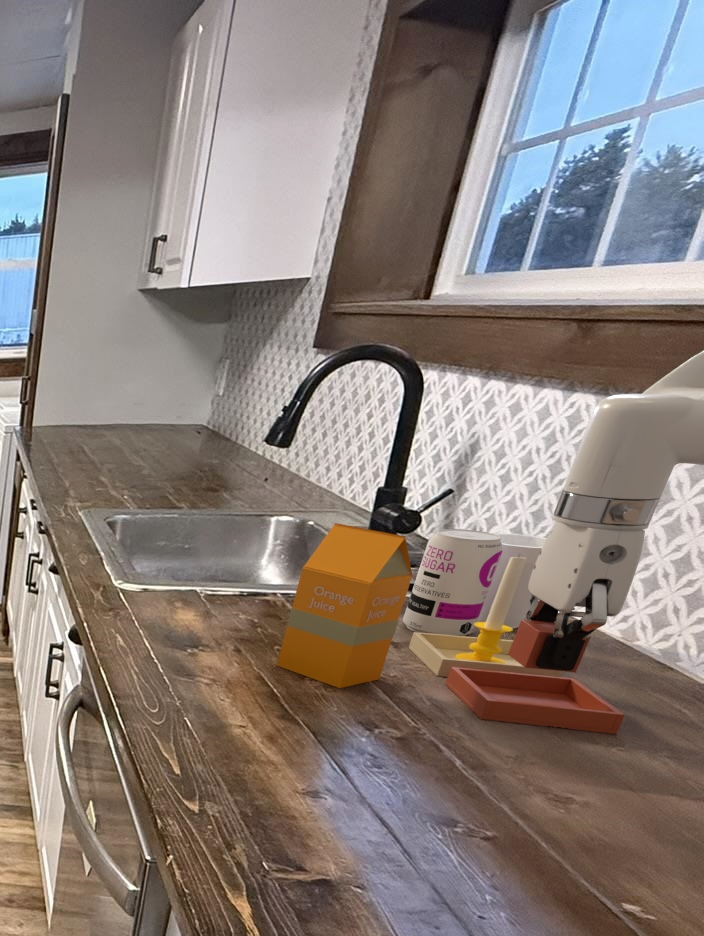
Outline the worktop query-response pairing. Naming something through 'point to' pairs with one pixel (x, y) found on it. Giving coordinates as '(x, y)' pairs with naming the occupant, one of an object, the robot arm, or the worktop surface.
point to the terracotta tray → (533, 700)
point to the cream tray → (444, 648)
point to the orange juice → (347, 606)
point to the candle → (496, 616)
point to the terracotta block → (534, 643)
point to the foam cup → (522, 595)
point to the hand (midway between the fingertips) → (543, 659)
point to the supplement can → (453, 582)
